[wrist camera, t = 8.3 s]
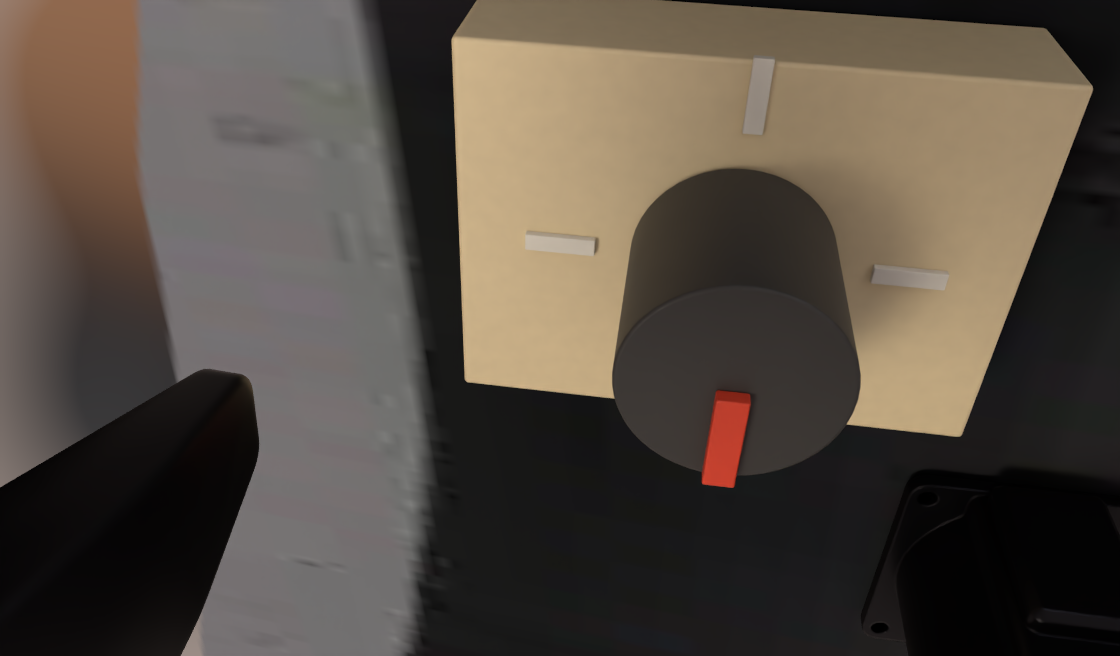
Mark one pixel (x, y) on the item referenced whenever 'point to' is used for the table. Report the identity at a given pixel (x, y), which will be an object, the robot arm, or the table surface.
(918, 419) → the dial panel
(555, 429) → the table surface
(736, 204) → the dial
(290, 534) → the table surface
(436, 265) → the table surface
